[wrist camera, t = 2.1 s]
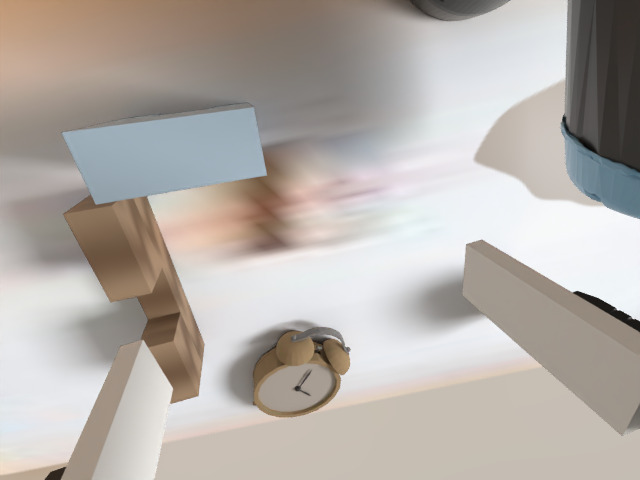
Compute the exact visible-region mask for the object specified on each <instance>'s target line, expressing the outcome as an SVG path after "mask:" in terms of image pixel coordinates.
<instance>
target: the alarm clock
mask: <svg viewBox="0 0 640 480" xmlns="http://www.w3.org/2000/svg"><path fill="white" fill-rule="evenodd" d="M319 334H326V335H332V336H335V337H337V338H338V339H340V340H341V342H342V344H341V343H340V342H339V341H338V340H335V339H328V340H326V341H324V342H323V345H321V344H319V343H316V342H313V341H312V339H311V338H310V337H311V336H314V335H319ZM349 351H350V348H349V347H347V348H346V347H345V344H344V341H343V338H342V336H341V334H340V333H339V332H338V331H336V330H334V329H331V328H327V327H317V328H312V329H309V330H307V331H305V332H301V331H291V332H288V333H286V334H284V335H283V336H282V337H281V338H280V339H279V341H278V343H277V345H276V347H275V348H273V349H272V350H270V351H269V352H267V353H266V354H264V355H263V356H262V358H261V359H260V360H259V361H258V362H257V363H256V366H255V369H254V372H253V378H254V402H253V405H257V407H258V408H259V409H260V410H261V411H263V412H265V413H266V414H268V415H272V416H276V417H296V416H301V415H305V414H308V413H311V412H313V411H316V410H318V409H319V408H321V407H323V406H324V405H326V404H327V403H328V402H330V401H331V400H332V399H333V398H334V397H335V395H336V394H337V392H338V390H339V388H340V381H341V378H340V375H344V374H345V373H346V372H347V371H348V369H349V366H350V358H349V353H348V352H349ZM339 374H340V375H339Z"/></svg>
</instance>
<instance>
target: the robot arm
mask: <svg viewBox="0 0 640 480" xmlns="http://www.w3.org/2000/svg"><path fill="white" fill-rule="evenodd" d="M411 1H412V2H413V3H414V4H415V5H416V6H417V7H418V8H419V9H421V10H422V11H424V12H425V13H427V14H429V15H431V16H433V17H435V18H438V19H442V20H448V21H459V20H465V19H469V18H472V17H476V16H479V15H482V14H485V13H488V12H490V11H492V10H495V9H497V8H498V7H500V6H502V5H504V4H505V3H507V2H508V1H510V0H411ZM561 131H562V134H563V136H564V138H565V155H566V156H565V158H566V169H567V173H568V175H569V177H570V179H571V181H572V182H573V183H574V185H575V186H576V187H577V188H578V189H579V190H580V191H581V192H582V193H584V194H585V195H586V196H588V197H590V198H591V199H593V200H596V201H599V202H602V203H603V204H604V205H605V206H606V207H607V208H609V209H612V210H614V211H617V212H620V213H622V214H625V215H628V216H631V217H635V218H638V219H640V0H568V13H567V49H566V88H565V114H564V115H563V119H562V122H561ZM462 295H463V296H464V297H465V298H466V299H467V300H468V301H469V302H470V303H472V304H473V305H474V306H475V307H476V308H477V309H478V310H480V311H481V312H482V313H483V314H484V315H485V316H486V317H487V318H489V319H490V320H491V321H492V322H493V323H494V324H495V325H497V326H498V327H499V328H500V329H501V330H502V331H503V332H505V333H506V334H507V335H508V336H509V337H510V338H511V339H512V340H514V341H515V342H516V343H517V344H518V345H519V346H520V347H522V348H523V349H524V350H525V351H526V352H527V353H528V354H529V355H531V356H532V357H533V358H534V359H535V360H536V361H537V362H539V363H540V364H541V365H542V366H543V367H544V368H545V369H547V370H548V371H549V372H550V373H551V374H552V375H553V376H554V377H556V378H557V379H558V380H559V381H560V382H561V383H563V384H564V385H565V386H566V387H567V388H568V389H569V390H571V391H572V392H573V393H574V394H575V395H576V396H577V397H578V398H580V399H581V400H582V401H583V402H584V403H585V404H586V405H588V406H589V407H590V408H591V409H592V410H593V411H594V412H596V414H598V415H599V416H600V417H601V418H602V419H603V420H604V421H606V422H607V423H608V424H609V425H610V426H611V427H613V428H614V429H615V430H616V431H617V432H618V433H619V434H620V435H621V436H624V435H626V434H628V433H630V432H633V431H635V430H637V429H640V321H638V320H636V319H632V317H631V316H629V315H627V314H626V313H624V312H622V311H618V310H617V309H616V308H615V307H613V306H611V305H610V304H608V303H606V302H604V301H602V300H601V299H599V298H596V297H593V296H591V295H588V294H585V293H582V292H579V291H576V292H573V293H572V292H570V291H569V290H567V289H565V288H563V287H562V286H560V285H558V284H557V283H555V282H553V281H552V280H550V279H548V278H546V277H545V276H543V275H541V274H540V273H538V272H536V271H535V270H533V269H531V268H529V267H528V266H526V265H524V264H523V263H521V262H519V261H517V260H516V259H514V258H512V257H511V256H509V255H507V254H506V253H504V252H502V251H500V250H499V249H497V248H495V247H494V246H492V245H490V244H489V243H487V242H485V241H483V240H479V241H476V242H472V243H469V244H466V252H465V266H464V280H463V293H462ZM172 391H173V388H172V386H171V384H170V383H169V381H168V379H167V378H166V376H165V374H164V373H163V371H162V370H161V368H160V366H159V365H158V363H157V361H156V360H155V358H154V356H153V355H152V353H151V351H150V350H149V348H148V347H147V345H146V343H145V342H144V340H139V341H136V342H133V343H129V344H126V345H122V346H120V349H119V351H118V353H117V355H116V358H115V360H114V362H113V364H112V367H111V369H110V371H109V373H108V375H107V378H106V380H105V382H104V384H103V387H102V389H101V391H100V393H99V395H98V398H97V400H96V402H95V404H94V407H93V409H92V411H91V413H90V416H89V418H88V420H87V422H86V424H85V427H84V429H83V431H82V433H81V436H80V438H79V440H78V442H77V444H76V447H75V449H74V451H73V453H72V456H71V458H70V460H69V462H68V465H67V467H64V468H61V469H58V470H55V471H52V472H50V474H49V475H48V476H47V477H46V479H45V480H154V479H155V474H156V469H157V464H158V459H159V454H160V450H161V445H162V440H163V435H164V430H165V425H166V420H167V416H168V411H169V406H170V401H171V396H172Z"/></svg>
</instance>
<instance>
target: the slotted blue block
mask: <svg viewBox="0 0 640 480" xmlns="http://www.w3.org/2000/svg"><path fill="white" fill-rule="evenodd" d="M62 135H63V137H64V139H65V142H66V144H67V146H68V148H69V150H70V152H71V154H72V156H73V158H74V160H75V162H76V164H77V167H78V169H79V171H80V173H81V175H82V177H83V179H84V181H85V183H86V185H87V187H88V189H89V192H90V194H91V196H92V198H93V200H94V202H95V204H96V205H97V204H103V203H109V202H114V201H120V200H126V199H132V198H138V197H143V196H149V195H155V194H161V193H167V192H172V191H178V190H184V189H190V188H196V187H202V186H207V185H213V184H219V183H225V182H231V181H236V180H242V179H248V178H254V177H260V176H266V175H267V173H266V168H265V162H264V157H263V152H262V147H261V142H260V136H259V131H258V126H257V121H256V116H255V111H254V107H253V106H251V105H250V104H249V103H241V104H234V105H226V106H218V107H212V108H211V109H204V110H196V111H189V112H181V113H173V114H166V115H161V114H156V115H148V116H140V117H133V118H125V119H120V120H115V121H111V122H106V123H102V124H97V125H93V126H89V127H84V128H80V129H75V130H71V131H66V132H62Z"/></svg>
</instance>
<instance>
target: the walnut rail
mask: <svg viewBox="0 0 640 480" xmlns="http://www.w3.org/2000/svg"><path fill="white" fill-rule="evenodd" d="M63 215H64V217H65V219H66V221H67V223H68V225H69V226H70V228H71V230H72V232H73V234H74V236H75V238H76V239H77V241H78V243H79V245H80V247H81V249H82V250H83V252H84V254H85V256H86V258H87V260H88V262H89V263H90V265H91V267H92V269H93V271H94V273H95V274H96V276H97V278H98V280H99V282H100V284H101V286H102V287H103V289H104V291H105V293H106V295H107V297H108V298H109V300H110V302H115V301H119V300H123V299H128V298H132V297H137V298H138V300H139V302H140V304H141V306H142V308H143V310H144V312H145V314H146V316H147V318H148V322H147V324H146V327H145V330H144V332H143V335H142V338H141V340H144V342H145V343H146V345H147V347H148V348H149V350H150V351H151V353H152V355H153V356H154V358H155V360H156V361H157V363H158V365H159V366H160V368H161V370H162V371H163V373H164V374H165V376H166V378H167V379H168V381H169V383H170V384H171V386H172V388H173V391H172V396H171V401H170V404H172V403H176V402H179V401H183V400H186V399H190V398H193V397H197V396H198V395H199V386H200V378H201V370H202V361H203V353H204V342H203V339H202V337H201V334H200V332H199V329H198V327H197V324H196V321H195V319H194V316H193V314H192V311H191V309H190V306H189V304H188V301H187V298H186V296H185V293H184V291H183V288H182V286H181V283H180V281H179V278H178V275H177V273H176V270H175V268H174V265H173V263H172V260H171V258H170V255H169V253H168V250H167V247H166V245H165V242H164V240H163V237H162V235H161V232H160V230H159V227H158V224H157V222H156V219H155V217H154V214H153V212H152V209H151V207H150V204H149V202H148V199H147V196H143V197H138V198H132V199H126V200H120V201H114V202H109V203H103V204H97V205H96V204H95V202H94V200H93V198H92V196H91V195H90V196H88V197H87V198H85V199H84V200H83V201H81V202H80V203H78V204H77V205H75V206H74V207H73V208H71V209H70V210H68V211H67V212H65V213H64V214H63Z"/></svg>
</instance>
